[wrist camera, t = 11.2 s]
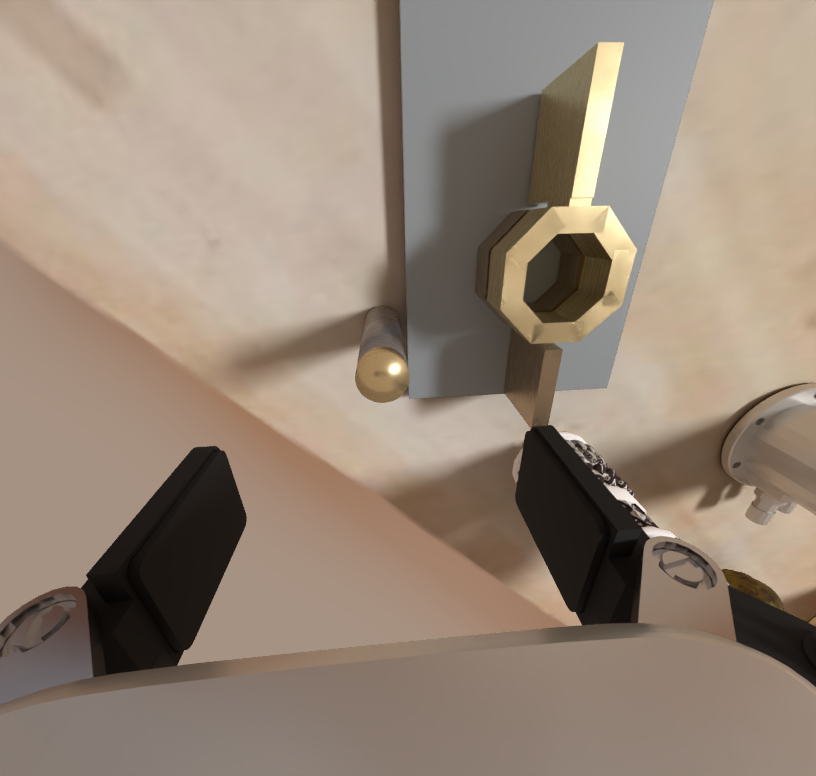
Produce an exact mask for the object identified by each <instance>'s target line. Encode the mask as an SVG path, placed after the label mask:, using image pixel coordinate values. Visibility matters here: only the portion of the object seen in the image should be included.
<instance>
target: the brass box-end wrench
mask: <svg viewBox="0 0 816 776" xmlns="http://www.w3.org/2000/svg"><path fill="white" fill-rule="evenodd" d="M623 46H624V42H598V43H597V44H596V45H595V46H593V47H592V48H591V49H590V50H589V51H588V52H586V53H585V54H584V55H583V56H582V57H580V58H579V59H578V60H577V61H576V62H575V63H573V64H572V65H571V66H570V67H569V68H568V69H566V70H565V71H564V72H563V73H562V74H560V75H559V76H558V77H557V78H556V79H555V80H553V81H552V82H551V83H550V84H549V85H548V86H546V87H545V88H544V89H543V90H542V93H541V101H540V109H539V117H538V125H537V133H536V141H535V150H534V158H533V166H532V174H531V182H530V190H529V198H528V205H535V204H547V207H546V208H538V209H530V210H529V211H528V213H527V214H526V215H525V216H524V217H523V218H522V219H521V220H520V221H519V222H518V223H517V224H516V225H515V226H514V227H513V228H512V229H511V230H510V231H509V232H508V233H507V234H506V235H505V236H504V237H503V238H502V239H501V240H500V242H499V243H498V244H497V245H496V246H495V247H494V248H493V249H492V250H491V257H490V269H489V281H488V293H487V301H488V303H489V304H490V305H491V306H492V307H493V308H494V309H495V310H496V311H497V312H498V313H499V315H500V316H501V317H502V318H503V319H504V320H505V321H506V322H507V323H508V324H509V325H510V326H511V328H512V329H513V330H514V331H515V332H516V333H518V334H519V335H520V336H522V337H523V338H524V339H525V340H527V341H528V342H529V343H531V344H540V343H562V342H579V341H581V340H582V339H583V338H584V337H585V336H587V335H588V334H589V333H590V332H591V331H592V330H594V329H595V328H596V327H597V326H598V325H599V324H601V323H602V322H603V321H604V320H605V319H606V318H608V317H609V316H610V315H611V314H612V313H614V312H615V311H616V310H617V309H618V308H619V307H621V306H622V303H623V300H624V296H625V292H626V288H627V285H628V281H629V277H630V273H631V270H632V266H633V262H634V259H635V255H636V251H637V249H636V247H635V246H634V244H633V243H632V241H631V239H630V238H629V236H628V235H627V233H626V232H625V230H624V228H623V227H622V225H621V224H620V222H619V220H618V219H617V217H616V216H615V214H614V213H613V211H612V209H611V208H610V206H591V202H592V198H593V197H594V192H595V187H596V182H597V177H598V172H599V167H600V162H601V157H602V152H603V147H604V142H605V137H606V132H607V127H608V122H609V117H610V112H611V107H612V102H613V97H614V92H615V87H616V82H617V76H618V71H619V66H620V61H621V56H622V51H623ZM566 233H569V234H570V236H571V237H572V239H573V240H574V241H575V243H576V244H577V246H578V247H579V248H580V250H581V251H582V253H583V254H584V256H585V260H584V265H583V270H582V275H581V280H580V285H579V289H578V290H577V291H576V292H575V293H574V294H573V295H572V296H570V297H569V298H568V299H567V300H566V301H565V302H564V303H563V304H562V305H561V306H559V307H558V308H557V309H556V310H555V311H554V312H533V311H532V310H531V309H530V308H529V307H528V306H527V304H526V303H525V302H524V301H523V295H524V287H525V280H526V272H527V265H528V262H529V261H530V260H531V259H532V258H533V257H534V256H535V255H536V254H537V253H538V252H539V251H540V250H541V249H542V248H544V247H545V246H546V245H547V244H548V243H549V242H550V241H551V240H552V239H553V238H554V237H555V236H556V235H557V234H566Z"/></svg>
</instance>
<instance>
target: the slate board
mask: <svg viewBox="0 0 816 776" xmlns="http://www.w3.org/2000/svg"><path fill="white" fill-rule="evenodd" d="M713 3H714V0H399V35H400V77H401V119H402V161H403V203H404V245H405V286H406V328H407V364H408V369H409V374H410V381H409V385H408V395H409V399H415V398H433V397H451V396H470V395H488V394H505V393H504V392H503V390H504V382H505V374H506V365H507V357H508V349H509V341H510V332H511V328H510V327H509V326H508V325H506V324H505V323H504V322H502V321H501V320H500V319H499V318H498V317H497V316H496V315H495V314H494V312H493V311H492V310H491V309H490V308H489V307H488V306H487V305H486V304H485V303H484V302H483V301H482V300H481V298H480V297H479V296H478V295H477V294H476V293H475V279H476V264H477V249H478V246H479V245H480V244H481V243H482V242H483V241H484V240H485V239H486V238H487V237H488V236H489V235H490V234H491V233H492V232H493V231H494V229H495V228H496V227H497V226H498V225H499V224H500V223H501V222H502V221H503V220H504V219H505V218H506V217H507V216H508V215H509V214H510V213H511V212H512V211H519V210H527V209H538V208H546V207H547V204H535V205H528V198H529V190H530V182H531V174H532V166H533V158H534V150H535V141H536V133H537V125H538V117H539V109H540V101H541V93H542V90H543V89H544V88H545V87H546V86H548V85H549V84H550V83H551V82H552V81H553V80H555V79H556V78H557V77H558V76H559V75H560V74H562V73H563V72H564V71H565V70H566V69H568V68H569V67H570V66H571V65H572V64H573V63H575V62H576V61H577V60H578V59H579V58H580V57H582V56H583V55H584V54H585V53H586V52H588V51H589V50H590V49H591V48H592V47H593V46H595V45H596V44H597V43H598V42H624V46H623V51H622V56H621V61H620V66H619V71H618V76H617V82H616V87H615V92H614V97H613V102H612V107H611V112H610V117H609V122H608V127H607V132H606V137H605V142H604V147H603V152H602V157H601V162H600V167H599V172H598V177H597V182H596V187H595V192H594V197H593V198H592V202H591V206H610V208H611V209H612V211H613V213H614V214H615V216H616V217H617V219H618V220H619V222H620V224H621V225H622V227H623V228H624V230H625V232H626V233H627V235H628V236H629V238H630V239H631V241H632V243H633V244H634V246H635V247H636V249H637V251H636V255H635V259H634V262H633V266H632V270H631V273H630V277H629V281H628V285H627V288H626V292H625V296H624V300H623V303H622V306H621V307H619V308H618V309H617V310H616V311H615V312H614V313H612V314H611V315H610V316H609V317H608V318H606V319H605V320H604V321H603V322H602V323H601V324H599V325H598V326H597V327H596V328H595V329H594V330H592V331H591V332H590V333H589V334H588V335H587V336H585V337H584V338H583V339H582V340H581V341H579V342H562V343H554V344H555V345H557V346H558V347H560V348H561V349H563V352H562V357H561V362H560V367H559V372H558V377H557V382H556V387H555V391H561V390H580V389H598V388H607V385H608V382H609V378H610V374H611V371H612V367H613V364H614V360H615V356H616V353H617V349H618V346H619V342H620V338H621V335H622V331H623V327H624V324H625V320H626V317H627V313H628V309H629V306H630V302H631V299H632V295H633V291H634V288H635V284H636V281H637V277H638V273H639V270H640V266H641V263H642V259H643V255H644V252H645V248H646V244H647V241H648V237H649V234H650V230H651V226H652V223H653V219H654V216H655V212H656V208H657V205H658V201H659V198H660V194H661V190H662V187H663V183H664V180H665V176H666V172H667V169H668V165H669V161H670V158H671V154H672V151H673V147H674V143H675V140H676V136H677V133H678V129H679V125H680V122H681V118H682V115H683V111H684V107H685V104H686V100H687V97H688V93H689V89H690V86H691V82H692V79H693V75H694V71H695V68H696V64H697V60H698V57H699V53H700V50H701V46H702V42H703V39H704V35H705V32H706V28H707V24H708V21H709V17H710V14H711V10H712V6H713ZM560 255H561V252H560V251H559V250H558V248H557V247H556V246H555V244H554V243H553V241H552V240H551V241H550V242H549V243H548V244H547V245H546V246H545V247H544V248H542V249H541V250H540V251H539V252H538V253H537V254H536V255H535V256H534V257H533V258H532V259H531V260H530V261H529V262H528V265H527V272H526V280H525V287H524V295H523V301H524V302H535V301H536V300H537V299H538V298H539V297H540V296H541V295H542V294H544V293H545V292H546V291H547V290H548V289H549V288H550V287H551V286H552V285H553V284H554V283H555V282H556V279H557V273H558V267H559V261H560Z"/></svg>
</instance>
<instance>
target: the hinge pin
mask: <svg viewBox="0 0 816 776" xmlns="http://www.w3.org/2000/svg"><path fill="white" fill-rule="evenodd" d="M355 381H356V385H357V388H358V390H359V391H360V392H361V394H362V395H363V396H365V397H366V398H367V399H369V400H372V401H374V402H380V403H385V402H391V401H393V400H396V399H398V398H399V397H400V396H402V395H403V394H404V392H405V391H406V390H407V388H408V385H409V381H410V374H409V369H408V364H407V359H406V354H405V349H404V344H403V339H402V334H401V329H400V324H399V319H398V316H397V314H396V313H395V311H394V310H392V309H391V308H389V307H387V306H377V307H374V308H372V309H371V310H370V311H369V312H368V313H367V315H366V317H365V322H364V328H363V334H362V339H361V345H360V351H359V357H358V363H357V369H356V375H355Z"/></svg>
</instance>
